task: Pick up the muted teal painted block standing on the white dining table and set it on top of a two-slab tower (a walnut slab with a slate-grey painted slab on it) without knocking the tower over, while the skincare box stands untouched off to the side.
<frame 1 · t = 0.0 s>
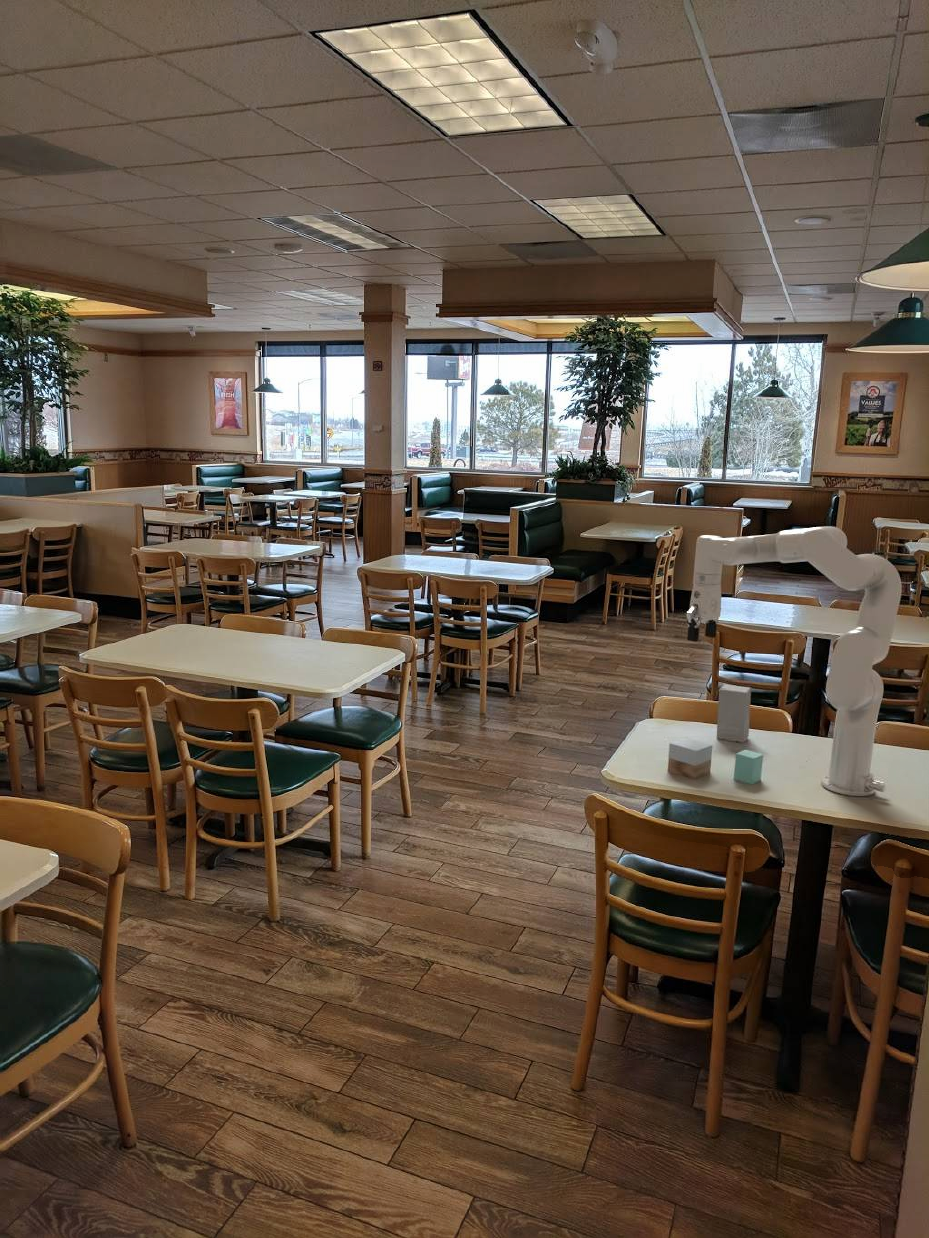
hand: (701, 638, 254), 31 cm above the table, tool pointing down, fingers open, 9 cm apart
tower top: (689, 758, 235), point 4 cm above the table, touching tower base
block: (747, 779, 232), on the table
tower base: (688, 772, 236), on the table, touching tower top
skincare box: (731, 739, 266), on the table
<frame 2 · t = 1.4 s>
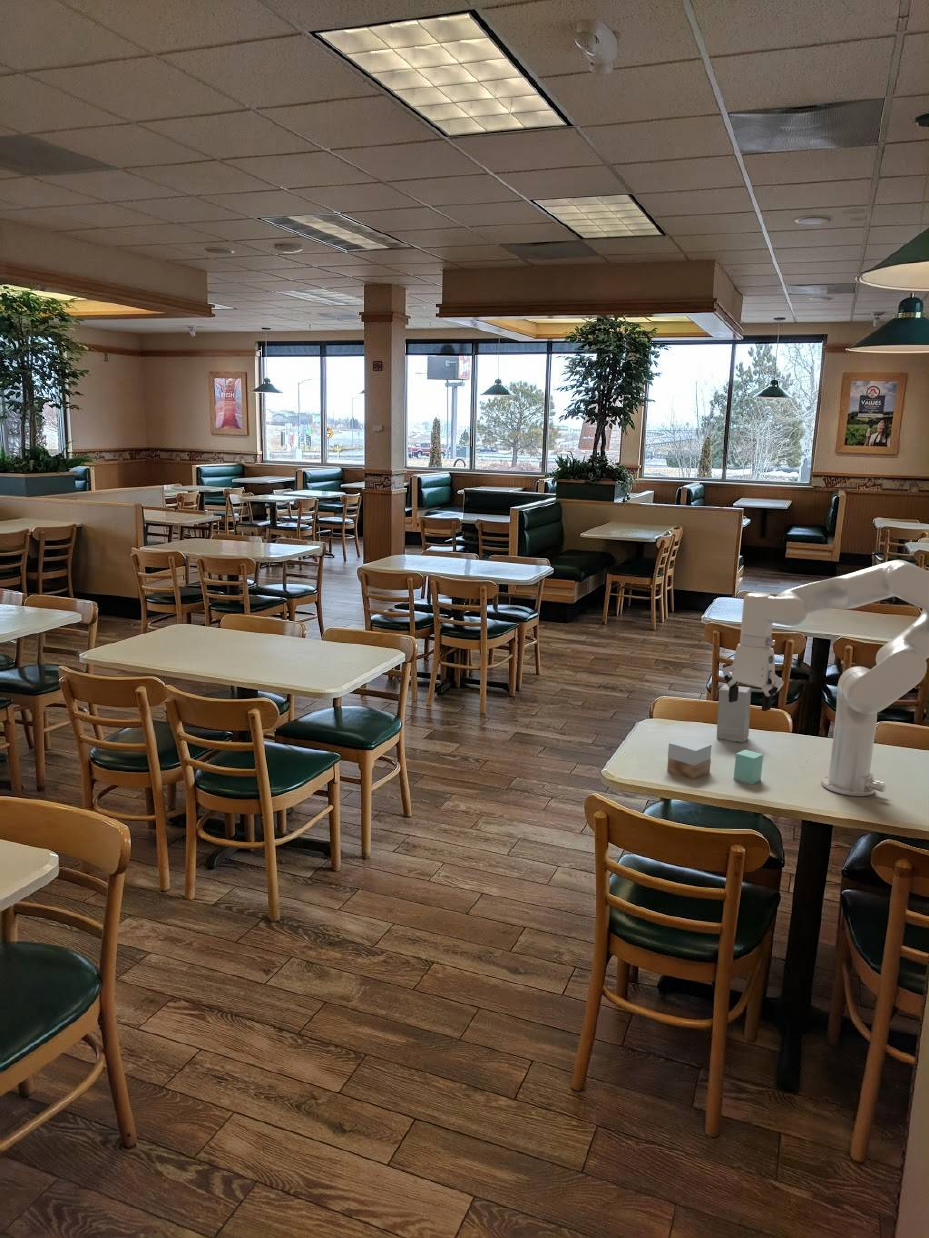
hand: (749, 705, 231), 19 cm above the table, tool pointing down, fingers open, 9 cm apart
nothing on the table moved.
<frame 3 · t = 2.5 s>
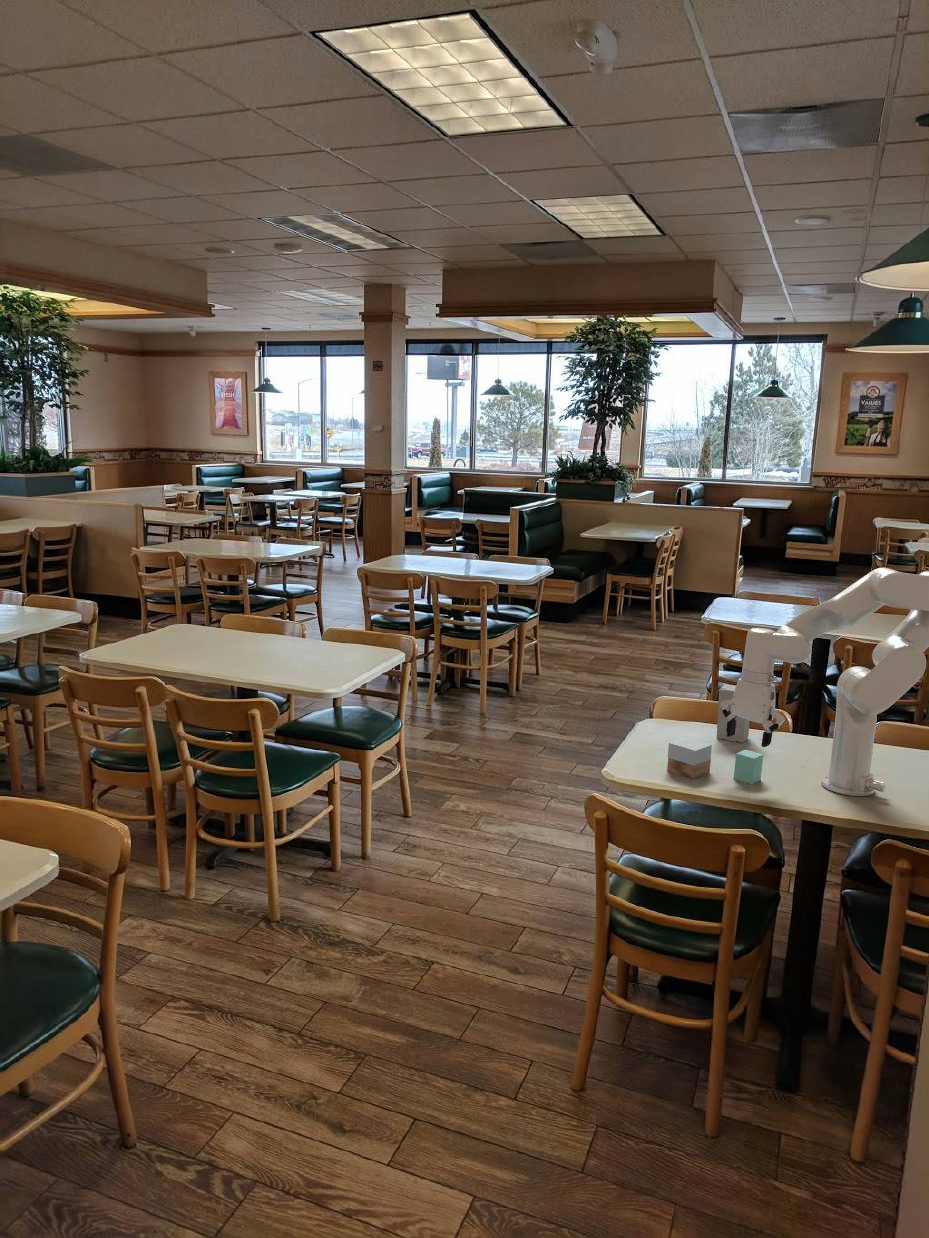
hand: (747, 740, 230), 10 cm above the table, tool pointing down, fingers open, 9 cm apart
nothing on the table moved.
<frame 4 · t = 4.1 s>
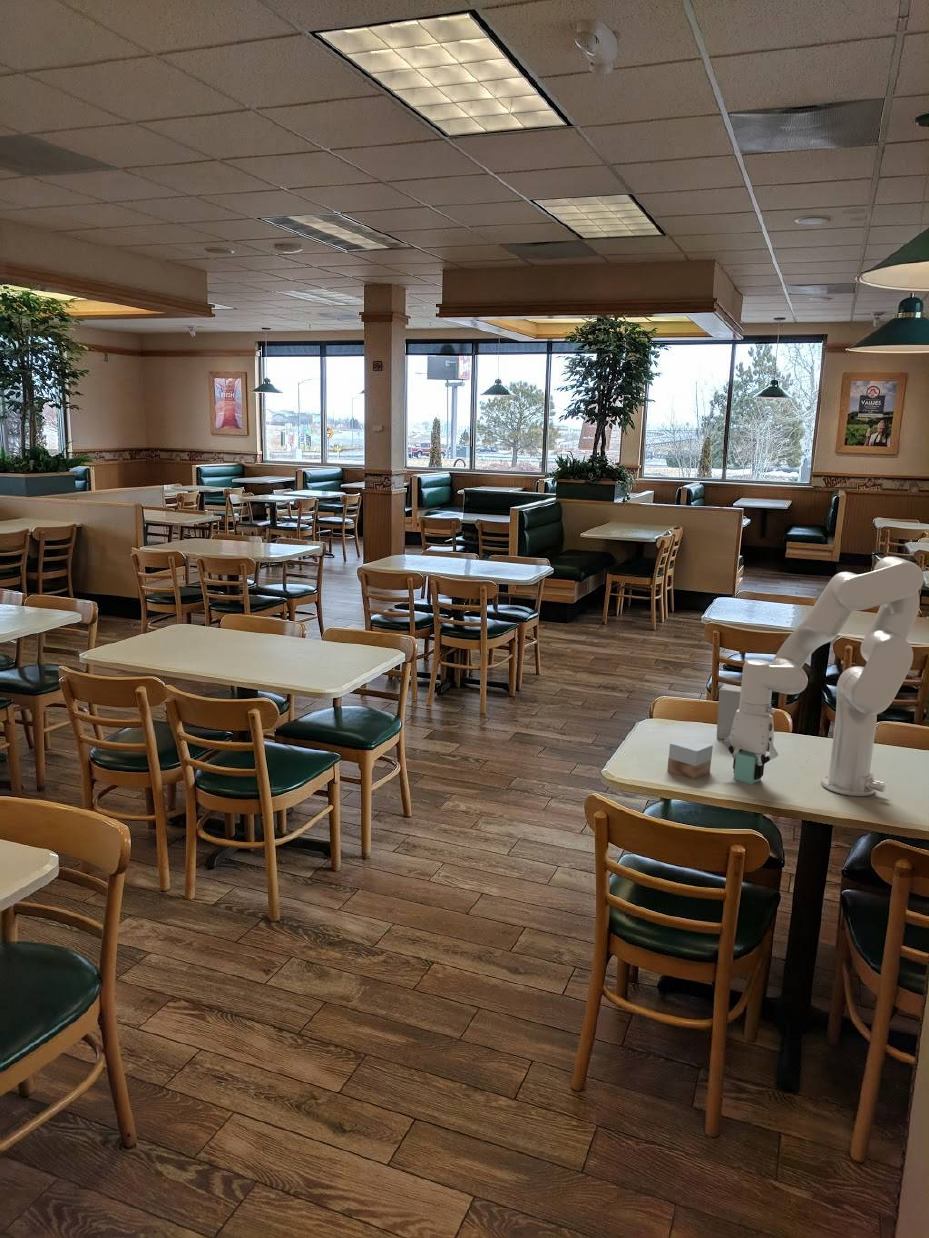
hand: (747, 774, 232), 1 cm above the table, tool pointing down, fingers closed on block, 5 cm apart
block: (747, 779, 232), on the table, touching gripper
everything else where it was.
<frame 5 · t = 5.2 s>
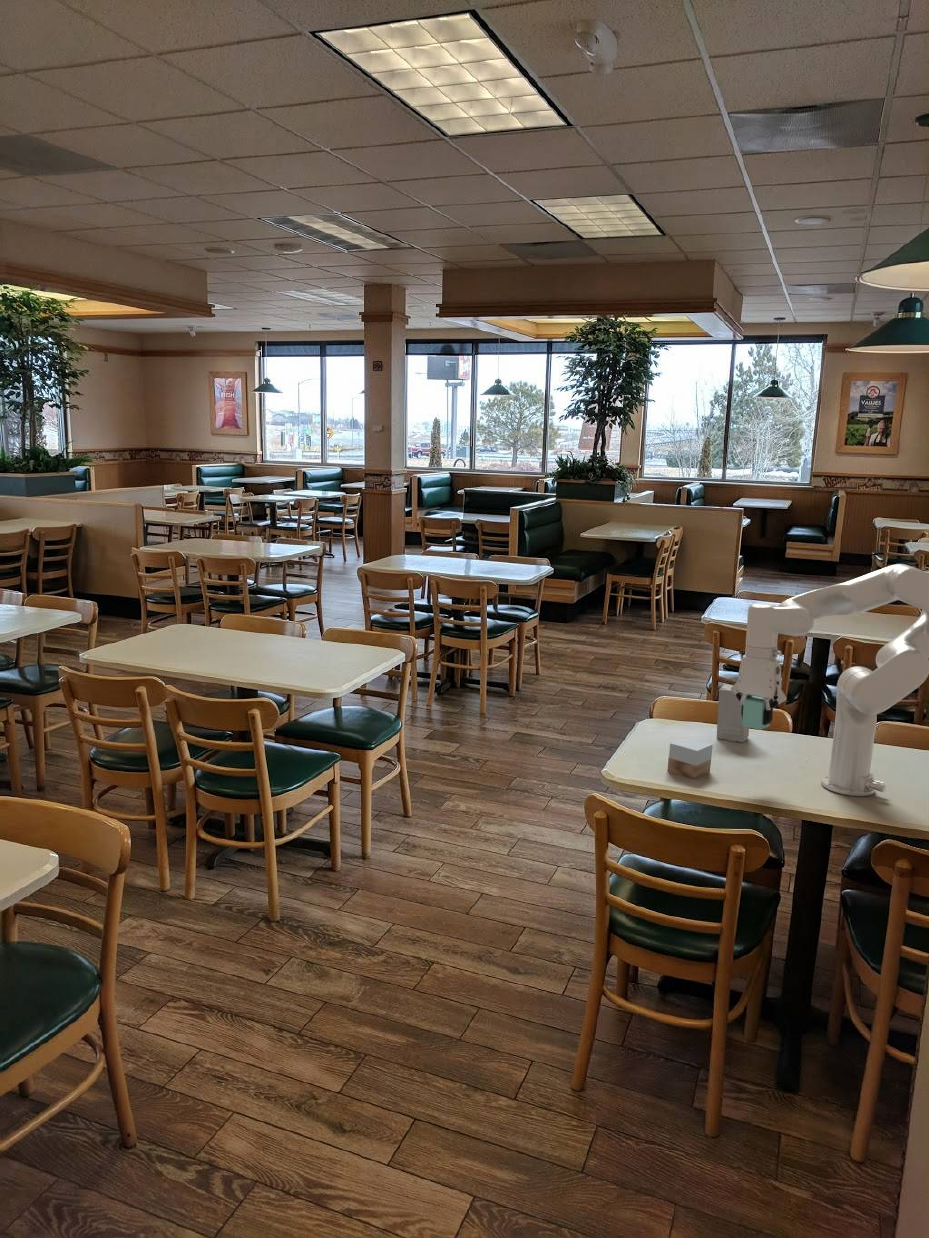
hand: (756, 720, 229), 16 cm above the table, tool pointing down, fingers closed on block, 5 cm apart
block: (755, 725, 229), point 15 cm above the table, touching gripper
everything else where it was.
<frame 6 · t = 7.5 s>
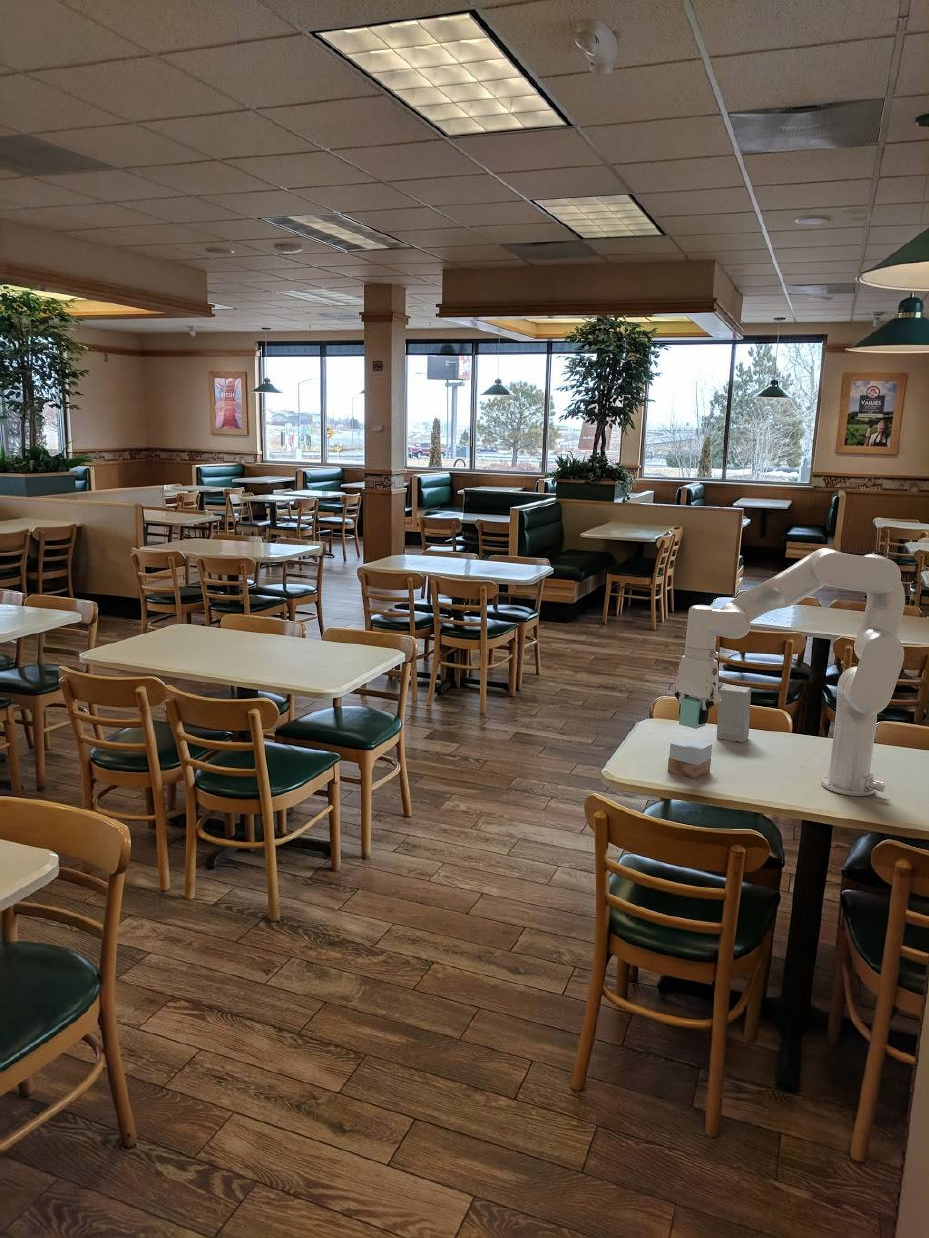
hand: (692, 720, 233), 14 cm above the table, tool pointing down, fingers closed on block, 5 cm apart
block: (692, 724, 233), point 13 cm above the table, touching gripper
everything else where it was.
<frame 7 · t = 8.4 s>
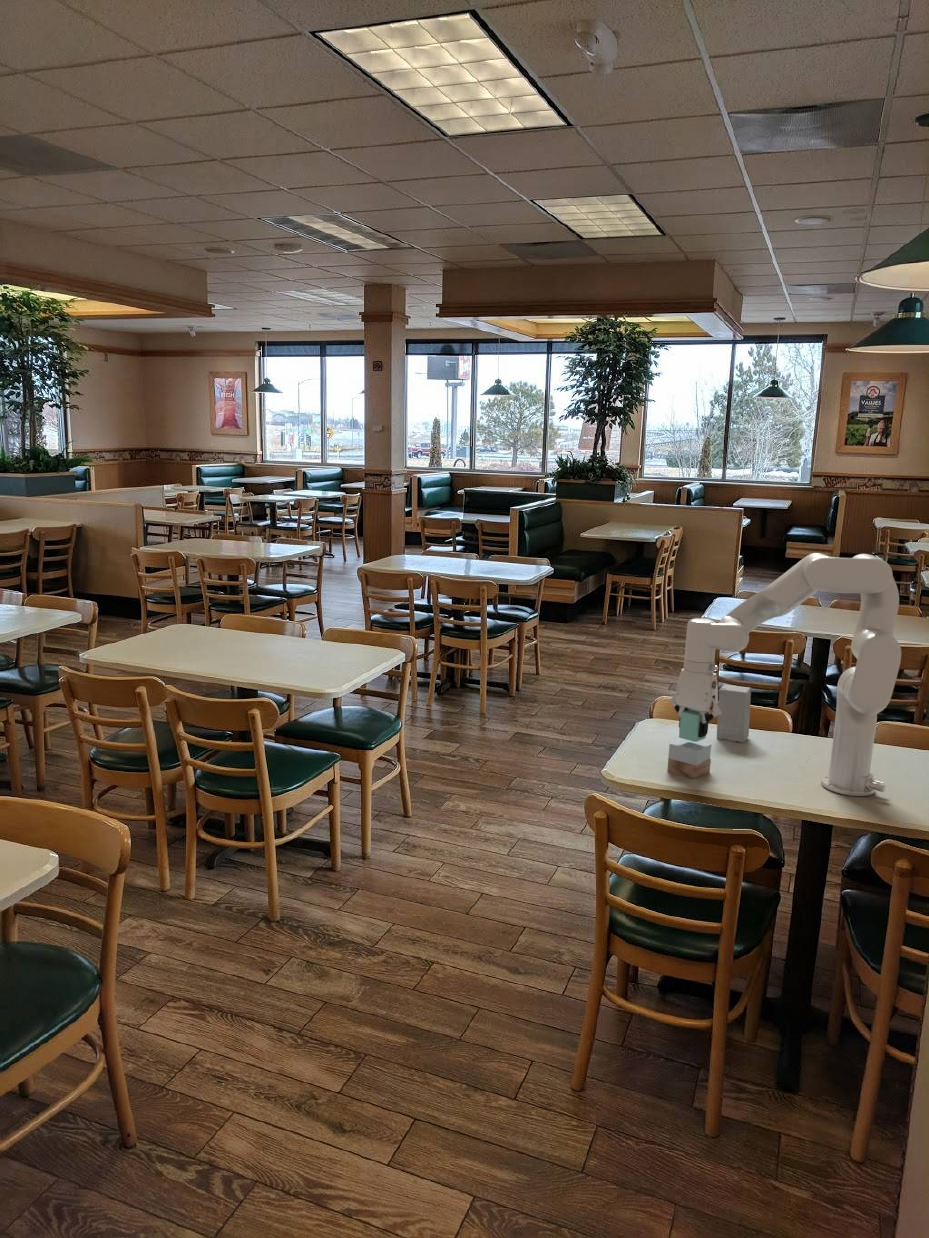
hand: (692, 733, 234), 11 cm above the table, tool pointing down, fingers closed on block, 4 cm apart
block: (692, 737, 234), point 9 cm above the table, touching gripper
everything else where it was.
when the fingers open (11 cm above the table, at t = 8.5 s): block drops 2 cm, resting on tower top.
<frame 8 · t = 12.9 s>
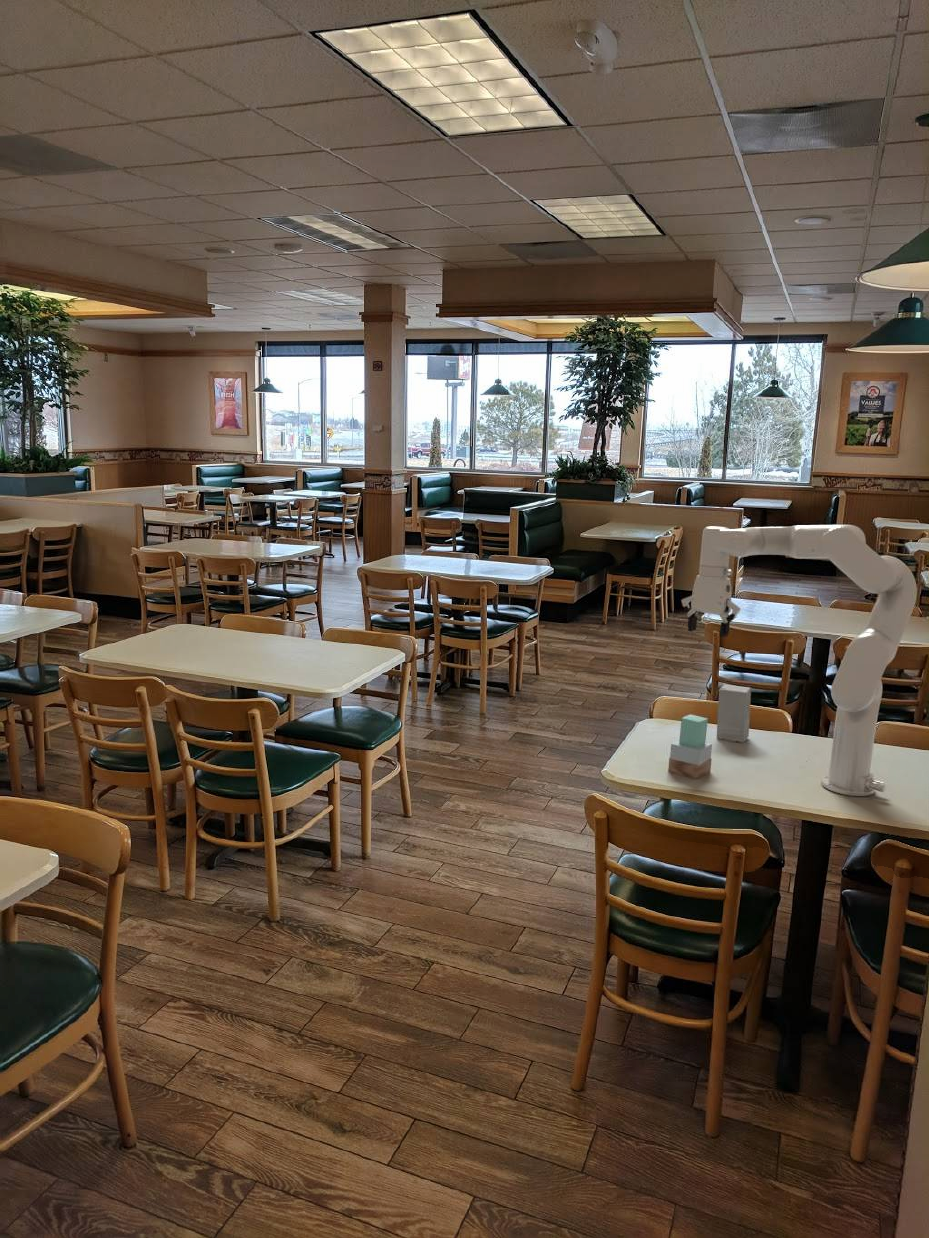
hand: (707, 633, 246), 34 cm above the table, tool pointing down, fingers open, 9 cm apart
tower top: (690, 758, 235), point 4 cm above the table, touching block, tower base
block: (692, 743, 234), point 8 cm above the table, touching tower top
everything else where it was.
at the end: block 0.1 cm off-centre on the tower top, point 4.0 cm above the tower top's base; block tilted 0°; tower top moved 0.4 cm from its start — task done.
